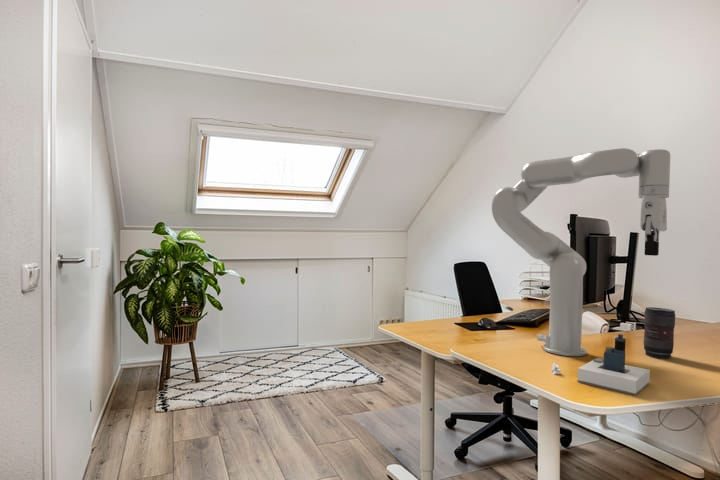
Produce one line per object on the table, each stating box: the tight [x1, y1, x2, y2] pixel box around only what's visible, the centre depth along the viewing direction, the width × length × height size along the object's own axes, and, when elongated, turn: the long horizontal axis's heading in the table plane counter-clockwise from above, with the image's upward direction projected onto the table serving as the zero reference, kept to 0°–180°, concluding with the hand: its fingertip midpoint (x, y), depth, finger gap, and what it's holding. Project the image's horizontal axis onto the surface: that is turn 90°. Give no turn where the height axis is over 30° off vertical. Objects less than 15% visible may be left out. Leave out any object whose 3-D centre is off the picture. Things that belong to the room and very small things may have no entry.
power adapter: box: [551, 362, 562, 375], centre depth 122 cm, size 3×3×3 cm
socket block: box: [577, 357, 651, 396], centre depth 116 cm, size 13×13×4 cm
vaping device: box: [602, 333, 627, 373], centre depth 116 cm, size 3×5×12 cm, turn 27°
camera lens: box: [643, 306, 676, 360], centre depth 143 cm, size 8×8×15 cm
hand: (651, 255), depth 133 cm, fingers closed
